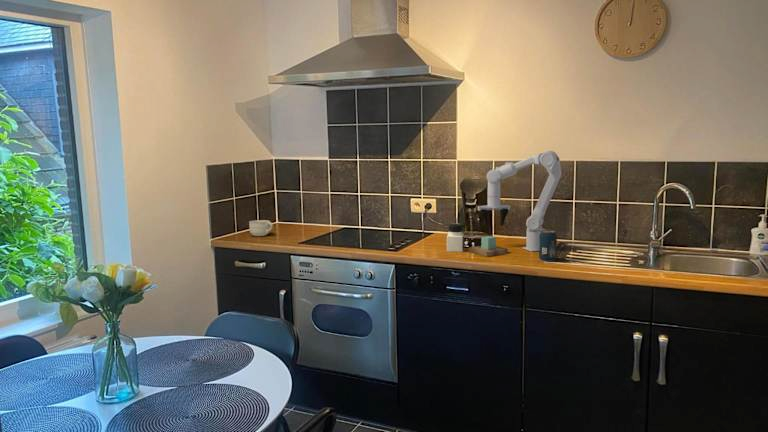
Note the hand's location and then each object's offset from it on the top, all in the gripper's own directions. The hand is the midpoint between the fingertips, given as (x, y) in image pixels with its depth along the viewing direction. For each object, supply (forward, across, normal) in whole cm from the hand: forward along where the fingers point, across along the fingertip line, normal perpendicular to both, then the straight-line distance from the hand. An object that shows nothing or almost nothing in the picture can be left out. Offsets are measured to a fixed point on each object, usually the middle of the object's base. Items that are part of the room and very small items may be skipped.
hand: (493, 225), depth 274 cm
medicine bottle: (+10, -19, -4) cm, 22 cm away
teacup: (+10, -109, +54) cm, 122 cm away
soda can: (+10, +14, -30) cm, 35 cm away
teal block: (+8, -6, -12) cm, 15 cm away
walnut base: (+10, -6, -11) cm, 16 cm away
